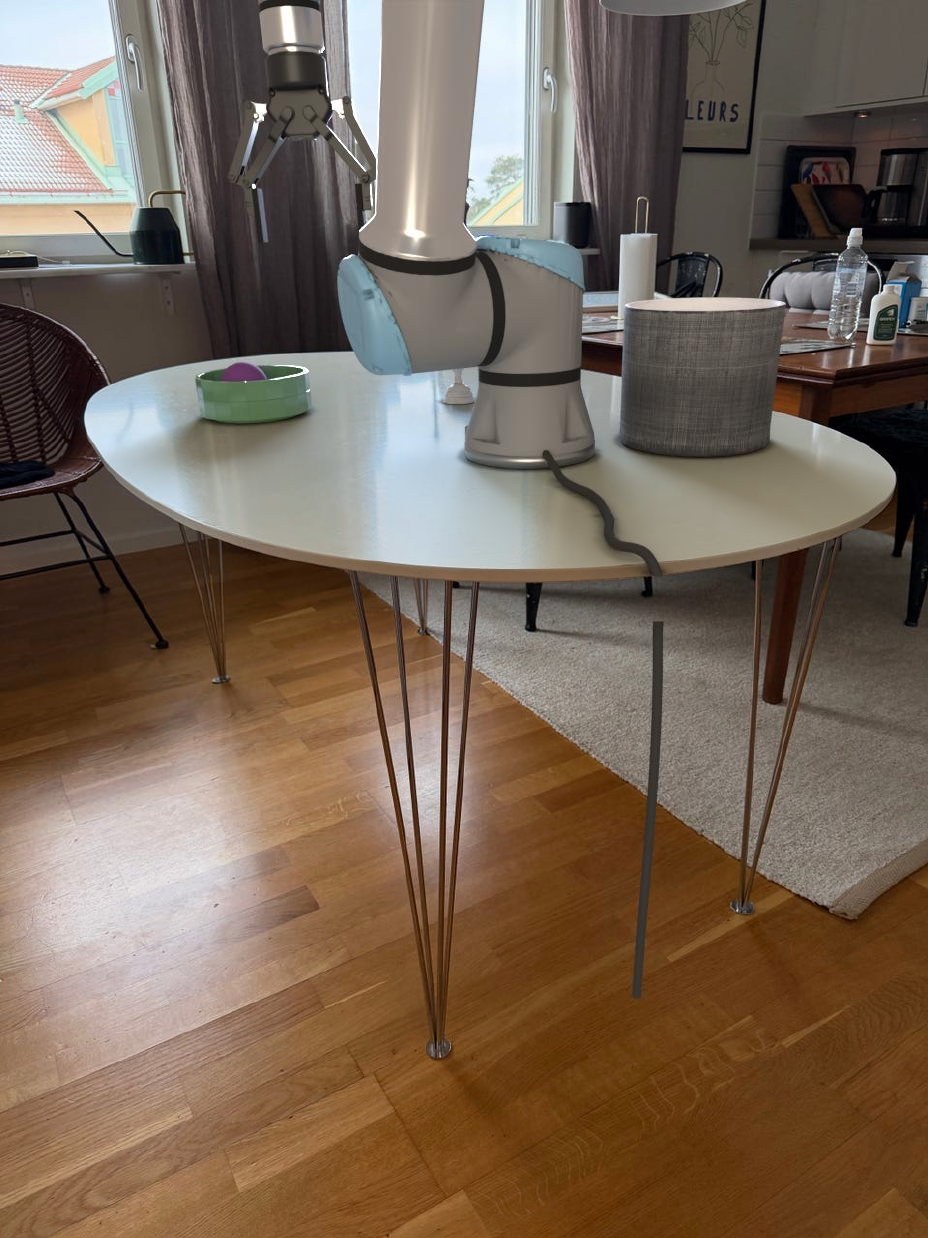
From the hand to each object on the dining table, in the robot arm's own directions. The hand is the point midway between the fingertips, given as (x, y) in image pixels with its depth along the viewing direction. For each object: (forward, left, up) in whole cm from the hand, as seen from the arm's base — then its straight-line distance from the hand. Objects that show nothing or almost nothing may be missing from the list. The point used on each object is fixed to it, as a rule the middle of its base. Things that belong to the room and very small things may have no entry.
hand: (313, 240), depth 115 cm
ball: (+3, +13, -19) cm, 23 cm away
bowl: (+3, +11, -24) cm, 26 cm away
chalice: (+10, -19, -24) cm, 32 cm away
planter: (-20, -49, -24) cm, 58 cm away
